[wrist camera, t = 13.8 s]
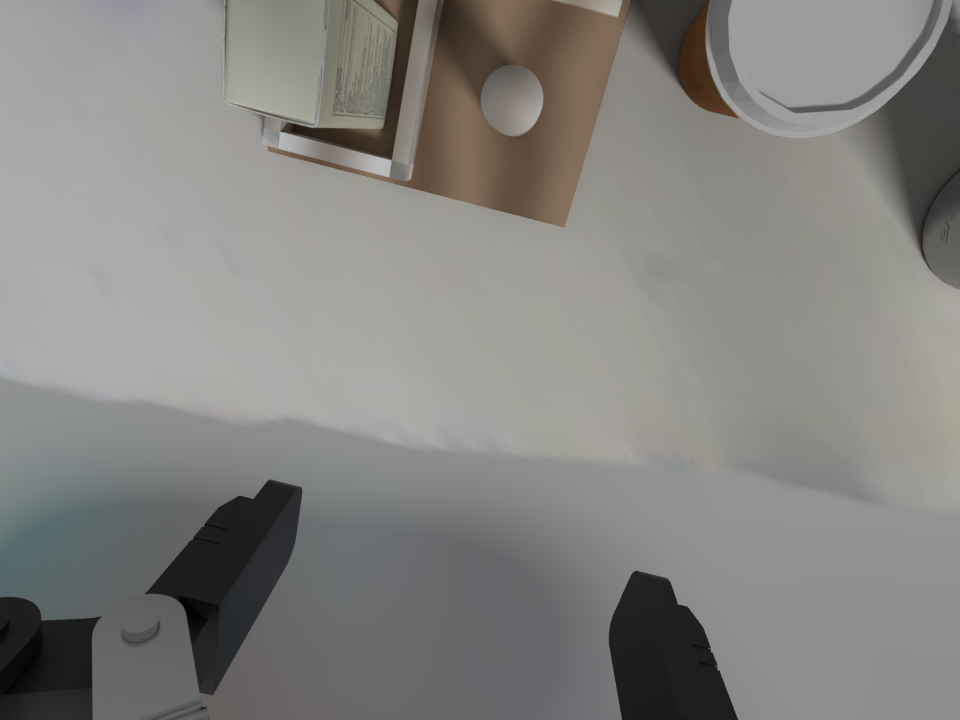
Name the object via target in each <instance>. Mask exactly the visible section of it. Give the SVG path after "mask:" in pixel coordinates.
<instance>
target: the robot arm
mask: <svg viewBox="0 0 960 720" xmlns="http://www.w3.org/2000/svg"><path fill="white" fill-rule="evenodd" d="M923 251H924V254H925V258H926V261H927V263H928V265H929V266H930V268H931V270H932V271H933V273H934V274H935V275H936V276H937V277H939V278H940V279H941V280H942V281H943V282H945V283H947V284H949V285H951V286H953V287H955V288H958V289H960V171H959V172H958V173H957V174H956V175H954V176H953V178H952V179H951V180H950V181H949V182H948V183H947V184H946V185H945V186H944V187H943V188H942V190H941V191H940V193H939V194H938V196H937V197H936V199H935V200H934V202H933V203H932V206H931V208H930V210H929V213H928V215H927V217H926V220H925V225H924V230H923ZM301 498H302V488H301V487H299V486H295V485H291V484H287V483H283V482H279V481H275V480H268V481H267V482H266V484H265V485H264V486H263V488H262V489H261V490H260V492H259V493H258V494H257V495H256V497H255V498H254V499H251V498H247V497H243V496H238V497H236V498H234V499H233V500H231V501H229V502H228V503H226V504H224V505H222V506H220V507H219V508H218V509H217V510H216V512H215V513H214V514H213V515H212V516H211V517H210V518H209V519H208V521H207V522H206V523H205V526H204V527H202V528H201V529H200V530H199V531H198V533H197V534H196V535H195V536H194V538H193V540H192V541H190V542H189V543H188V544H187V546H186V547H185V548H184V549H183V550H182V551H181V552H180V554H179V555H178V556H177V557H176V558H175V560H174V561H173V562H172V563H171V564H170V566H169V567H168V568H167V569H166V570H165V571H164V573H163V574H162V575H161V576H160V577H159V579H158V580H157V581H156V582H155V583H154V584H153V586H152V587H151V588H150V589H149V590H148V591H147V592H146V593H145V594H144V595H139V596H135V597H132V598H129V599H127V600H124V601H122V602H120V603H118V604H117V605H115V606H114V607H112V608H111V609H109V610H108V611H107V612H106V613H105V614H104V615H103V616H101V617H96V618H88V619H67V620H46V621H41V613H40V610H39V609H38V607H37V606H36V605H35V604H34V603H33V602H31V601H29V600H26V599H22V598H16V597H2V598H0V720H210V716H209V713H208V710H207V708H206V707H202V703H201V699H200V693H205V694H209V695H213V694H214V692H215V690H216V689H217V687H218V685H219V684H220V682H221V680H222V678H223V677H224V675H225V673H226V671H227V669H228V668H229V666H230V664H231V662H232V661H233V659H234V657H235V655H236V654H237V652H238V650H239V648H240V646H241V645H242V643H243V641H244V639H245V638H246V636H247V634H248V632H249V631H250V629H251V627H252V625H253V624H254V622H255V620H256V618H257V617H258V615H259V613H260V611H261V610H262V608H263V606H264V604H265V603H266V601H267V599H268V597H269V596H270V594H271V592H272V590H273V588H274V587H275V585H276V583H277V581H278V580H279V578H280V576H281V574H282V573H283V571H284V569H285V567H286V565H287V563H288V561H289V559H290V556H291V554H292V551H293V548H294V544H295V540H296V533H297V527H298V519H299V512H300V505H301ZM609 647H610V652H611V659H612V664H613V670H614V676H615V682H616V687H617V693H618V699H619V704H620V710H621V715H622V720H738V719H737V716H736V713H735V711H734V708H733V705H732V703H731V700H730V697H729V695H728V692H727V690H726V687H725V684H724V682H723V679H722V676H721V673H720V671H719V670H717V667H718V666H717V663H716V660H715V658H714V655H713V653H711V647H710V644H709V642H708V639H707V636H706V634H705V631H704V629H703V627H702V626H701V624H700V623H699V621H698V620H697V619H696V617H695V616H694V615H693V613H692V612H691V611H690V609H689V608H688V607H686V606H682V605H678V603H677V600H676V597H675V594H674V591H673V588H672V585H671V583H670V581H669V580H668V579H667V578H664V577H660V576H656V575H651V574H648V573H644V572H640V571H634V572H633V573H632V575H631V577H630V579H629V581H628V583H627V585H626V588H625V590H624V592H623V594H622V597H621V599H620V601H619V603H618V606H617V608H616V610H615V612H614V615H613V617H612V620H611V624H610V630H609ZM199 692H200V693H199Z"/></svg>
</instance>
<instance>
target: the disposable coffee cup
mask: <svg viewBox="0 0 960 720" xmlns="http://www.w3.org/2000/svg"><path fill="white" fill-rule="evenodd" d="M952 3H953V0H708V1H707V3H706V4H705V6H704V8H703V9H702V10H701V12H700V14H699V15H698V16H697V18H696V19H695V21H694V22H693V23H692V25H691V26H690V28H689V29H688V31H687V33H686V35H685V37H684V40H683V43H682V47H681V50H680V55H679V75H680V79H681V82H682V85H683V88H684V90H685V92H686V93H687V95H688V96H689V97H690V98H691V99H692V101H693V102H694V103H696V104H697V105H698V106H699V107H701V108H703V109H705V110H707V111H710V112H715V113H719V114H724V115H728V116H732V117H736V118H740V119H742V120H743V121H745V122H746V123H748V124H750V125H751V126H753V127H754V128H756V129H758V130H760V131H762V132H764V133H768V134H771V135H776V136H782V137H787V138H810V137H816V136H821V135H827V134H831V133H834V132H837V131H840V130H843V129H845V128H847V127H849V126H851V125H853V124H855V123H858V122H859V121H861V120H863V119H864V118H866V117H867V116H869V115H871V114H872V113H874V112H875V111H877V110H878V109H879V108H880V107H882V106H883V105H884V104H885V103H886V102H887V101H888V100H890V99H891V98H892V97H893V96H894V95H895V94H896V93H897V92H898V91H899V90H900V89H901V88H902V87H903V86H904V85H905V84H906V83H907V82H908V81H909V80H910V79H911V78H912V77H913V76H914V75H915V74H916V73H917V72H918V71H919V70H920V68H921V67H922V65H923V64H924V62H925V61H926V60H927V58H928V57H929V55H930V54H931V52H932V51H933V50H934V48H935V46H936V44H937V42H938V40H939V38H940V36H941V33H942V31H943V29H944V27H945V25H946V23H947V20H948V17H949V13H950V10H951V6H952Z"/></svg>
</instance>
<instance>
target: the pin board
mask: <svg viewBox="0 0 960 720" xmlns="http://www.w3.org/2000/svg"><path fill="white" fill-rule="evenodd" d="M374 1H375V2H376V3H377V4H378V5H380V6H381V7H382V8H383V9H384V10H385V11H387V12H388V13H389V14H390V15H391V16H392V17H393V18H395V19H396V20H397V22H398V29H397V39H396V48H395V57H394V65H393V73H392V80H391V88H390V94H389V101H388V107H387V113H386V119H385V125H384V127H383V128H382V129H352V128H311V127H307V126H303V125H299V124H294V123H290V122H286V121H282V120H279V119H275V118H271V117H268V116H265V119H264V131H263V143H262V145H265V146H268V151H270V152H274V153H277V154H281V155H285V156H289V157H293V158H297V159H301V160H305V161H308V162H312V163H316V164H320V165H324V166H328V167H332V168H336V169H340V170H343V171H347V172H351V173H355V174H359V175H363V176H367V177H371V178H374V179H378V180H382V181H386V182H390V183H394V184H398V185H402V186H405V187H409V188H413V189H417V190H421V191H425V192H429V193H433V194H437V195H440V196H444V197H448V198H452V199H456V200H460V201H464V202H468V203H471V204H475V205H479V206H483V207H487V208H491V209H495V210H499V211H502V212H506V213H510V214H514V215H518V216H522V217H526V218H530V219H534V220H537V221H541V222H545V223H549V224H553V225H557V226H561V227H565V224H566V220H567V217H568V213H569V210H570V207H571V203H572V200H573V196H574V193H575V190H576V186H577V183H578V179H579V176H580V173H581V169H582V166H583V162H584V159H585V156H586V152H587V149H588V145H589V142H590V139H591V135H592V132H593V128H594V125H595V122H596V118H597V115H598V111H599V108H600V105H601V101H602V98H603V94H604V91H605V88H606V84H607V81H608V77H609V74H610V71H611V67H612V64H613V60H614V57H615V54H616V50H617V47H618V43H619V40H620V37H621V33H622V30H623V26H624V23H625V20H626V16H627V13H628V9H629V6H630V3H631V0H374Z"/></svg>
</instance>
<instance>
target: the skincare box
mask: <svg viewBox="0 0 960 720" xmlns="http://www.w3.org/2000/svg"><path fill="white" fill-rule="evenodd" d="M397 29H398V22H397V20H396V19H395V18H393V17H392V16H391V15H390V14H389V13H388V12H387V11H385V10H384V9H383V8H382V7H381V6H380V5H378V4H377V3H376V2H375V1H374V0H224V17H223V102H224V103H225V104H227V105H229V106H233V107H237V108H240V109H243V110H247V111H250V112H253V113H257V114H260V115H264V116H268V117H271V118H275V119H279V120H282V121H286V122H290V123H294V124H299V125H303V126H307V127H311V128H352V129H382V128H383V127H384V125H385V119H386V113H387V107H388V101H389V94H390V88H391V80H392V73H393V65H394V57H395V48H396V39H397Z"/></svg>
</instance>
